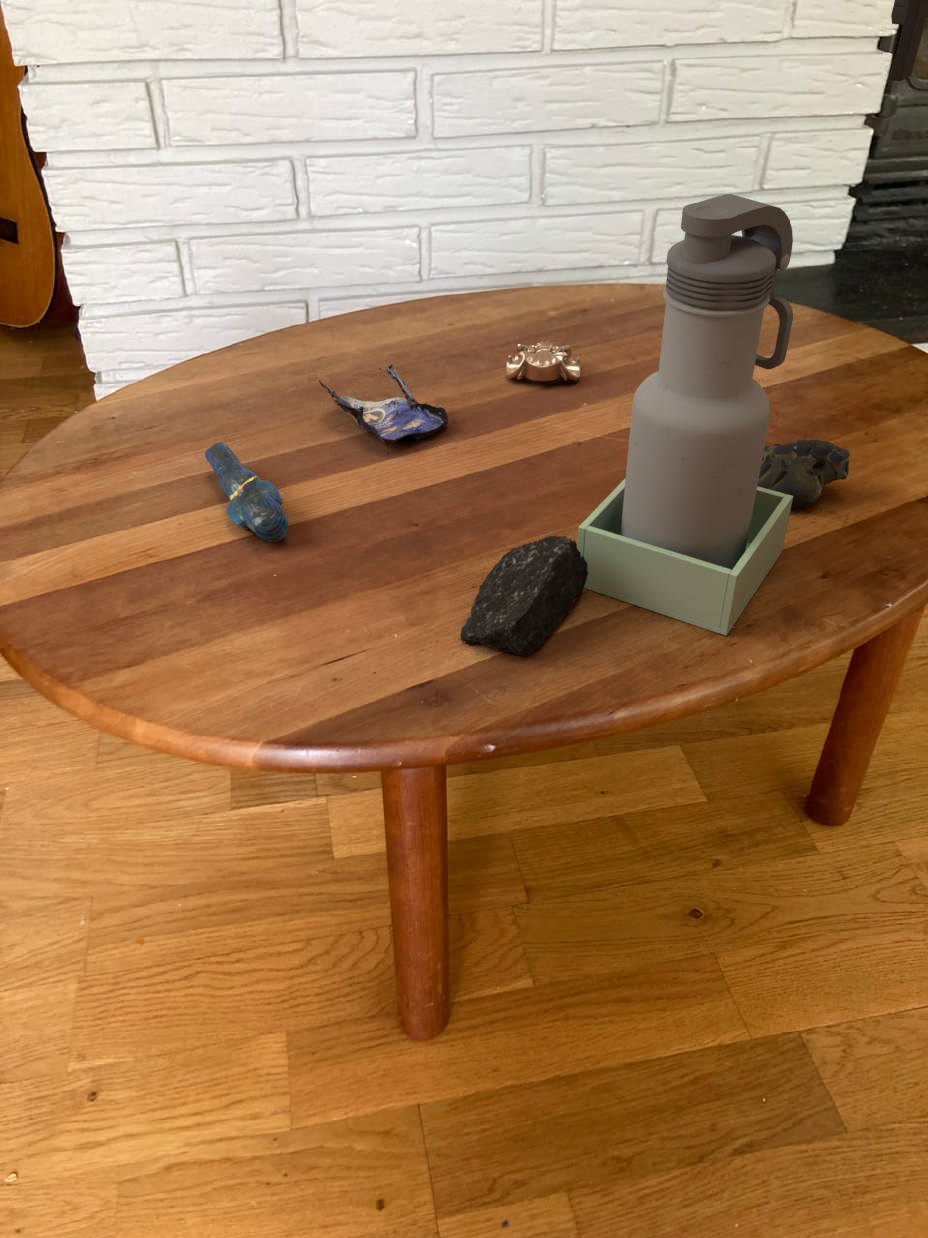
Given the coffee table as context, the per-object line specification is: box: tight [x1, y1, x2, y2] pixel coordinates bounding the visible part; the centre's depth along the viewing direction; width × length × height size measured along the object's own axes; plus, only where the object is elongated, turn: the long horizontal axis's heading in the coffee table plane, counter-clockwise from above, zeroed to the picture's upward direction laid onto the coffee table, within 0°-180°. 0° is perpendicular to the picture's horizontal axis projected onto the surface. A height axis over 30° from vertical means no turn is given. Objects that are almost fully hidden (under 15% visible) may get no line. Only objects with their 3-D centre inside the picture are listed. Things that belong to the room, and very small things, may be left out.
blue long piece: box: [204, 441, 289, 543], centre depth 91 cm, size 5×4×15 cm
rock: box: [460, 535, 588, 657], centre depth 78 cm, size 7×10×6 cm
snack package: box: [318, 363, 449, 454], centre depth 102 cm, size 12×6×12 cm
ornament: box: [505, 340, 581, 382], centre depth 111 cm, size 8×7×4 cm
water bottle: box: [621, 193, 794, 570], centre depth 75 cm, size 10×10×28 cm
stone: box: [757, 439, 851, 509], centre depth 91 cm, size 7×13×5 cm, turn 85°
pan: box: [576, 477, 793, 637], centre depth 82 cm, size 13×13×6 cm
